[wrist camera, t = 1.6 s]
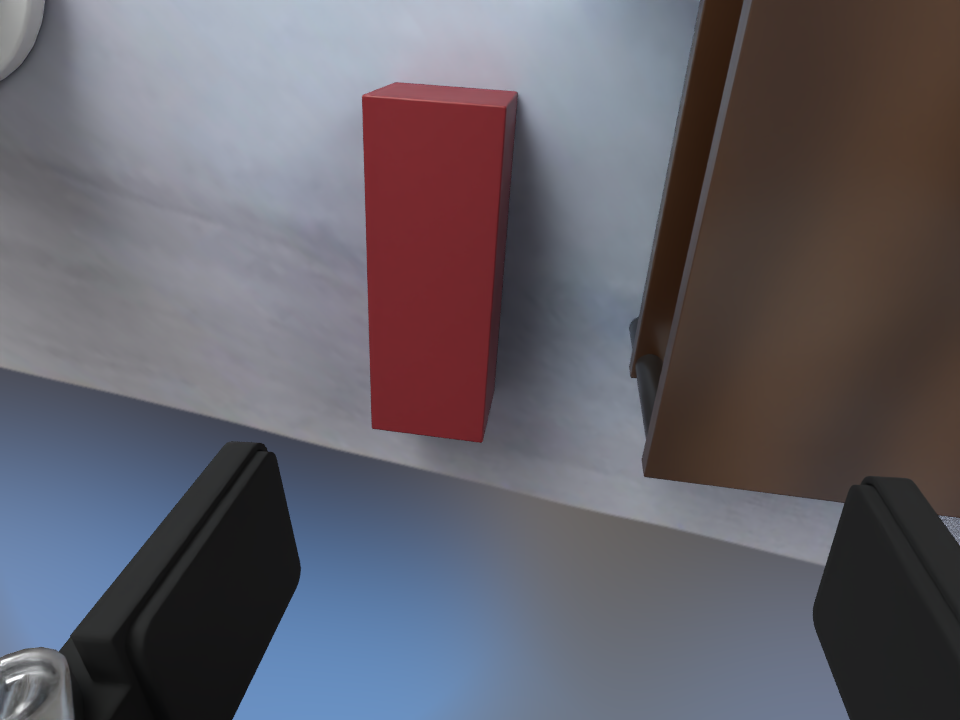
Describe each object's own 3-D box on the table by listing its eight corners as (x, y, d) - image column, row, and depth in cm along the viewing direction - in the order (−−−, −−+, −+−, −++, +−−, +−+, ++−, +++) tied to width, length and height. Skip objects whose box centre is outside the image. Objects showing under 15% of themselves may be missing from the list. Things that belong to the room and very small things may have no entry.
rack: (624, 338, 32) (646, 500, 22) (706, -103, 23) (810, -195, 13) (920, 371, 31) (1098, 560, 20) (1122, -82, 22) (1619, -167, 12)
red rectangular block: (396, 379, 35) (371, 429, 31) (394, 82, 28) (361, 94, 24) (494, 391, 35) (482, 443, 31) (518, 91, 27) (506, 105, 23)
